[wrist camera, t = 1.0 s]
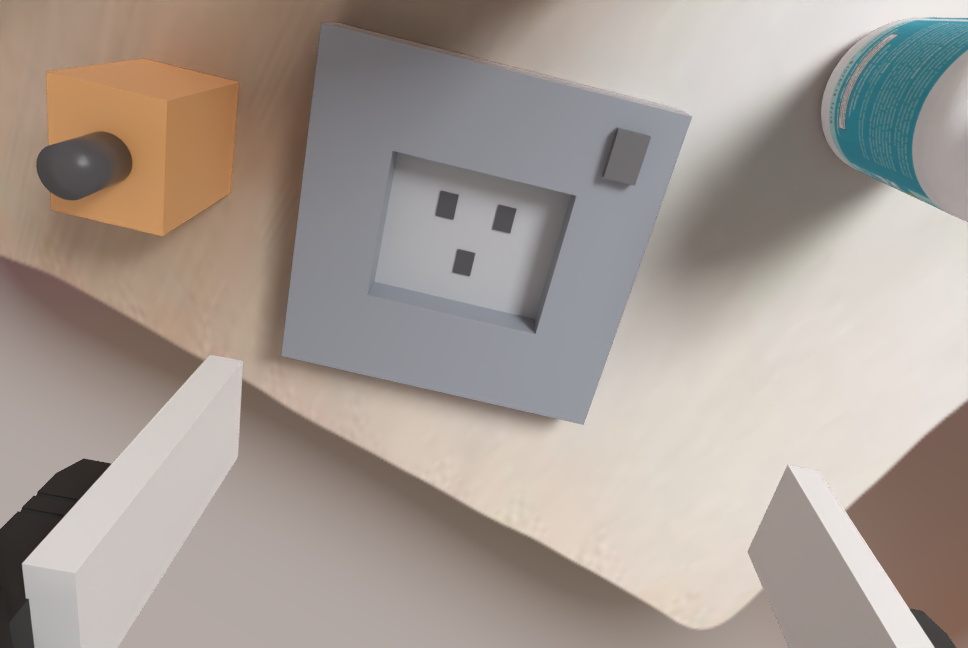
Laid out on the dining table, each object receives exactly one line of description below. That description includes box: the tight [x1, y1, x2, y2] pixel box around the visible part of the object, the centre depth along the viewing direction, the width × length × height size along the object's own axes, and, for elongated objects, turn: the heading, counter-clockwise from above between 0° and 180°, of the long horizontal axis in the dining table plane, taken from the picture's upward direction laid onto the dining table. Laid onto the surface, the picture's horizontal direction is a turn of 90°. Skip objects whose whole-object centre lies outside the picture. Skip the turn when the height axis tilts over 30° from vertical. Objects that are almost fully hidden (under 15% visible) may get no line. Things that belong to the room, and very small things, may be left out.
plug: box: [37, 58, 239, 236], centre depth 32 cm, size 6×5×11 cm
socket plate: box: [281, 22, 692, 425], centre depth 37 cm, size 18×18×3 cm
